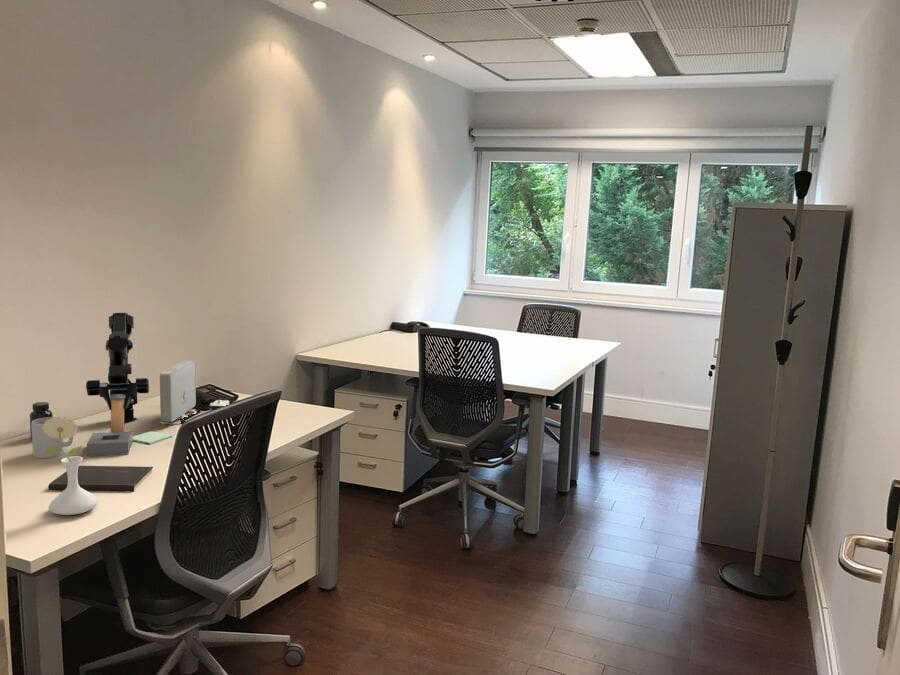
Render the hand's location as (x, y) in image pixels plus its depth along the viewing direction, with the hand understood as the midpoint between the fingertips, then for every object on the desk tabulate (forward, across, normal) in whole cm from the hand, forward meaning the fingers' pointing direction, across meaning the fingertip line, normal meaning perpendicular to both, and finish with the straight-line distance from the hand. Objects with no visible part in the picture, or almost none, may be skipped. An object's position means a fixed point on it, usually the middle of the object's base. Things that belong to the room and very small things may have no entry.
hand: (117, 408), depth 236 cm
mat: (+3, +9, +16) cm, 19 cm away
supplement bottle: (-3, -25, +23) cm, 34 cm away
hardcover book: (+31, -3, -12) cm, 34 cm away
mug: (+10, -19, +9) cm, 23 cm away
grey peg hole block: (+10, -2, +9) cm, 14 cm away
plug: (+5, 0, +6) cm, 8 cm away
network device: (-14, +19, +34) cm, 41 cm away
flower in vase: (+46, -9, -27) cm, 54 cm away
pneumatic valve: (+2, +32, +17) cm, 36 cm away
